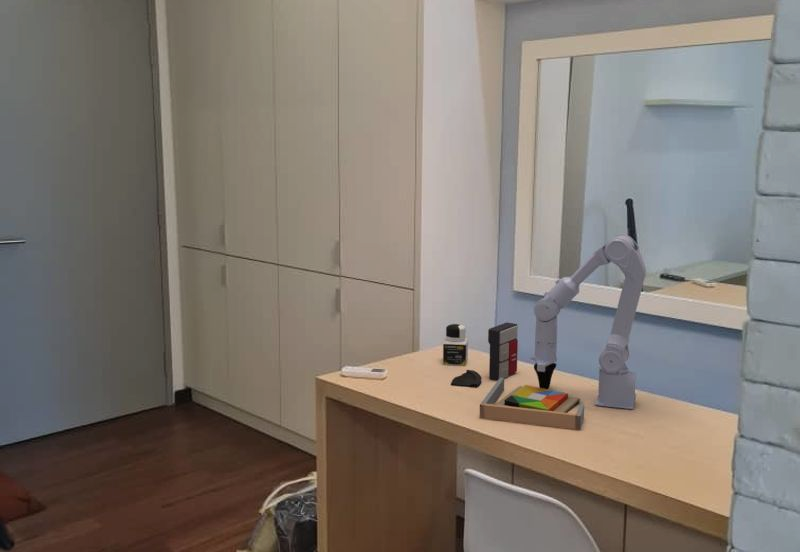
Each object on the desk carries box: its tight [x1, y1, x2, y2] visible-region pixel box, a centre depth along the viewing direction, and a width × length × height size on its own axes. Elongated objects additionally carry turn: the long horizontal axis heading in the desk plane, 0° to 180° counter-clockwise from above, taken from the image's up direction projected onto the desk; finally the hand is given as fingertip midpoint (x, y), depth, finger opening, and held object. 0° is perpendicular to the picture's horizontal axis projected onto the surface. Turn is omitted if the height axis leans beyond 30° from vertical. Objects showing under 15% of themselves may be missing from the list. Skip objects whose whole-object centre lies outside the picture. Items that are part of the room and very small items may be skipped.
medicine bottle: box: [442, 323, 469, 367], centre depth 233 cm, size 7×7×12 cm
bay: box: [479, 378, 585, 431], centre depth 192 cm, size 24×24×4 cm
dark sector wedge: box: [450, 369, 483, 389], centre depth 216 cm, size 8×14×2 cm, turn 161°
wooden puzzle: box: [493, 384, 581, 413], centre depth 194 cm, size 18×19×4 cm
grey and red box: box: [487, 322, 519, 382], centre depth 218 cm, size 11×4×15 cm, turn 143°
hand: (544, 390), depth 203 cm, fingers closed
